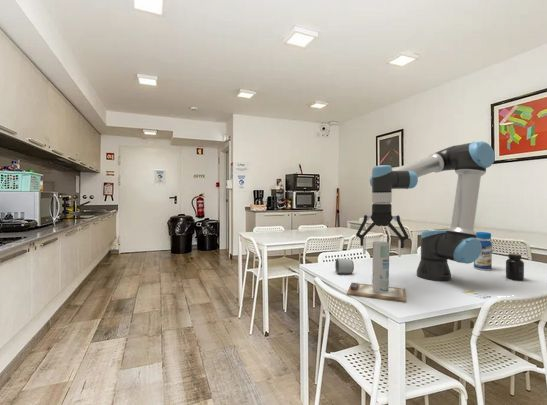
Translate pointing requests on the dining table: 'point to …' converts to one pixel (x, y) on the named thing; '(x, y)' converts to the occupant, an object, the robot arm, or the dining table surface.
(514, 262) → the supplement bottle
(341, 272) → the grey cylinder
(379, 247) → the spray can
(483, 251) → the beverage bottle
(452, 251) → the robot arm
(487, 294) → the dining table surface
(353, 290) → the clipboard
